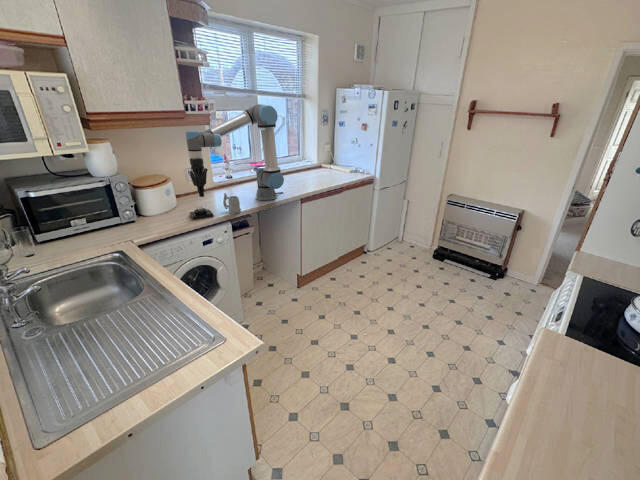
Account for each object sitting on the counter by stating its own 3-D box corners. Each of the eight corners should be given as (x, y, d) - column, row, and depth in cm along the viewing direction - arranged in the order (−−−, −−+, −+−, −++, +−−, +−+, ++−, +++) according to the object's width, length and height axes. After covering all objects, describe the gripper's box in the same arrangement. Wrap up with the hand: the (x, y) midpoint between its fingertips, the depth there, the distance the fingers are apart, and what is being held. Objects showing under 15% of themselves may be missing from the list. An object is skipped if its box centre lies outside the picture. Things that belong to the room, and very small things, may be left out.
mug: (237, 214, 208) (235, 196, 203) (221, 212, 210) (218, 194, 205) (243, 210, 214) (241, 193, 209) (227, 209, 217) (225, 191, 212)
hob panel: (209, 212, 210) (208, 206, 208) (213, 216, 202) (212, 210, 201) (190, 215, 204) (189, 209, 202) (193, 220, 196) (192, 213, 195)
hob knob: (203, 209, 204) (203, 206, 204) (205, 211, 201) (204, 208, 200) (196, 210, 202) (195, 207, 201) (197, 212, 199) (197, 209, 198)
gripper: (200, 156, 199) (205, 193, 209) (182, 158, 189) (189, 197, 199) (209, 157, 196) (214, 195, 206) (191, 160, 185) (197, 199, 195)
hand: (201, 196), depth 202 cm, fingers closed
